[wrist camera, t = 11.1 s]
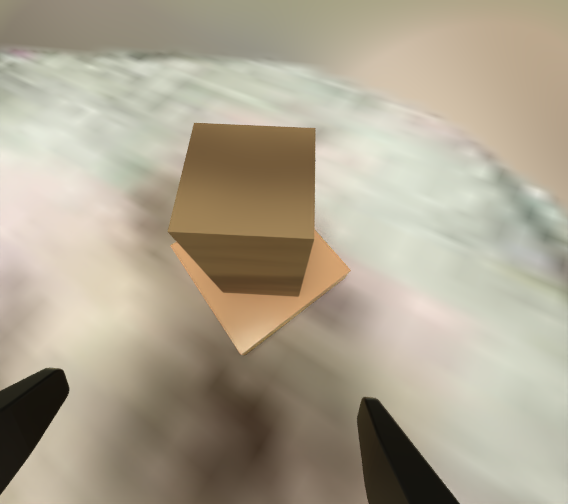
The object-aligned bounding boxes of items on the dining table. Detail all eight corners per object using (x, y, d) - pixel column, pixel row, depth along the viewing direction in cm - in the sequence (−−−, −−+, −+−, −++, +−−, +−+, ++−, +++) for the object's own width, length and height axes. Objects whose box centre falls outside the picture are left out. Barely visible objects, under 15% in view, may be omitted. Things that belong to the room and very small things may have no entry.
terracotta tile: (245, 355, 18) (240, 354, 16) (182, 258, 21) (170, 245, 19) (342, 280, 20) (350, 270, 18) (274, 200, 23) (273, 183, 21)
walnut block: (298, 296, 17) (314, 239, 9) (222, 292, 17) (167, 231, 9) (300, 228, 19) (315, 128, 11) (232, 225, 19) (194, 122, 11)
